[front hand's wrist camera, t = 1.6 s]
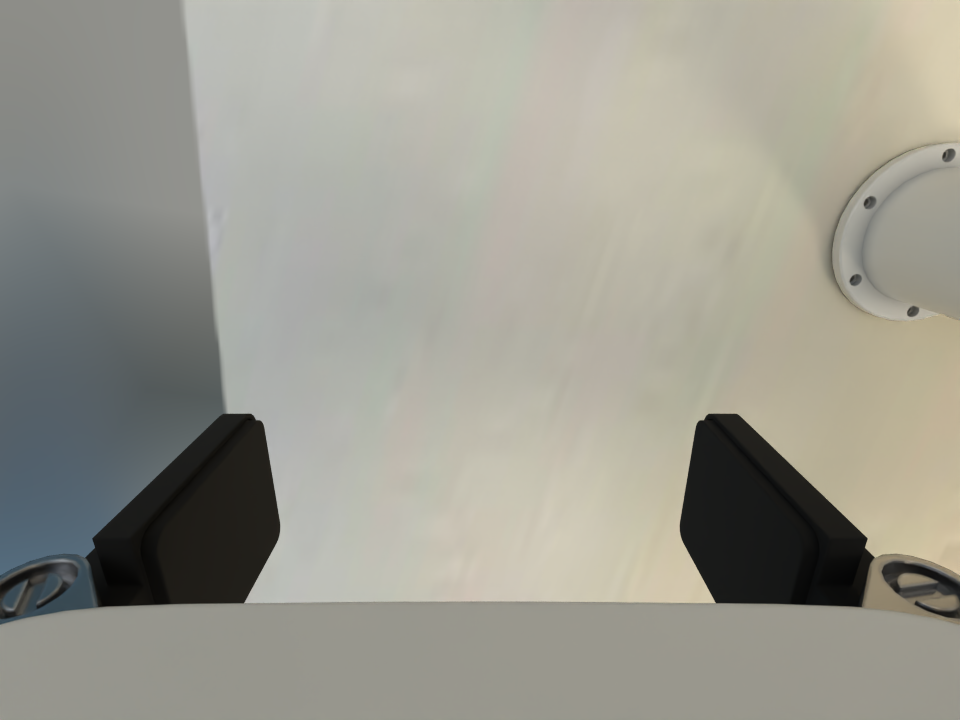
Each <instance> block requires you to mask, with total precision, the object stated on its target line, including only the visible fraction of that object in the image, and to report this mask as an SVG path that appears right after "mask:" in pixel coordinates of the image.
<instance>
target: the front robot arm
mask: <svg viewBox="0 0 960 720" xmlns="http://www.w3.org/2000/svg"><path fill="white" fill-rule="evenodd" d="M832 264H833V270H834V274H835V278H836V281H837V283H838V285H839V287H840V289H841V291H842V293H843V294H844V295H845V296H846V297H847V298H848V300H849V301H850V302H851V303H852V304H854V305H855V306H857V307H858V308H859V309H861V310H862V311H865V312H867V313H869V314H872V315H874V316H877V317H880V318H884V319H887V320H893V321H914V320H922V319H926V318H929V317H933V316H936V315H939V314H941V315H944V316H947V317H950V318H954V319H957V320H960V143H941V144H934V145H927V146H923V147H920V148H917V149H914V150H911V151H908V152H906V153H904V154H902V155H900V156H898V157H896V158H895V159H893V160H891V161H890V162H888V163H887V164H885V165H884V166H883V167H881V168H880V169H878V170H877V171H876V172H875V173H874V174H873V175H872V176H871V177H870V178H868V179H867V180H866V181H865V182H864V183H863V184H862V185H861V187H860V188H859V189H858V191H857V192H856V193H855V194H854V196H853V197H852V198H851V200H850V201H849V203H848V205H847V207H846V208H845V210H844V212H843V214H842V216H841V218H840V221H839V224H838V226H837V229H836V232H835V236H834V242H833V248H832ZM279 534H280V520H279V514H278V508H277V502H276V496H275V490H274V484H273V478H272V472H271V466H270V460H269V454H268V448H267V442H266V435H265V429H264V425H263V423H262V422H261V421H260V420H256V419H255V417H254V416H253V415H252V414H222V415H221V416H220V417H219V418H217V419H216V420H215V421H214V422H213V423H212V424H211V425H210V426H209V427H208V428H207V429H206V430H205V431H204V432H203V433H202V434H201V435H200V436H199V437H198V438H197V439H196V440H195V441H194V442H192V444H190V445H189V446H188V447H187V448H186V449H185V450H184V451H183V452H182V453H181V454H180V455H179V456H178V457H177V458H176V459H175V460H174V461H173V462H172V463H171V464H170V465H169V466H168V467H166V468H165V469H164V470H163V471H162V472H161V473H160V474H159V475H158V476H157V477H156V478H155V479H154V480H153V481H152V482H151V483H150V484H149V485H148V486H147V487H146V488H144V489H143V490H142V491H141V492H140V493H139V494H138V495H137V496H136V497H135V498H134V499H133V500H132V501H131V502H130V503H129V504H128V505H127V506H126V507H125V508H124V509H123V510H122V511H121V512H120V513H118V514H117V515H116V516H115V517H114V518H113V519H112V520H111V521H110V522H109V523H108V524H107V525H106V526H105V527H104V528H103V529H102V530H101V531H100V532H99V533H98V534H97V535H96V536H94V537H93V542H94V545H95V549H94V550H93V551H92V552H91V553H89V555H87V557H85V558H84V557H81V556H79V555H75V554H59V555H52V556H47V557H43V558H40V559H36V560H33V561H29V562H27V563H25V564H22V565H20V566H18V567H15V568H13V569H11V570H9V571H7V572H6V573H4V574H2V575H0V720H960V575H958V574H956V573H954V572H953V571H951V570H949V569H947V568H945V567H942V566H940V565H938V564H935V563H933V562H931V561H927V560H924V559H920V558H917V557H914V556H908V555H901V554H885V555H881V556H878V557H876V558H875V557H874V556H873V555H872V554H871V553H870V552H869V551H867V550H866V549H865V545H866V542H867V539H868V538H867V537H866V536H865V535H863V534H862V533H861V532H860V531H859V530H858V529H857V528H856V527H855V526H854V525H853V524H852V523H851V522H850V521H849V520H848V519H847V518H846V517H845V516H844V515H843V514H842V513H841V512H839V511H838V510H837V509H836V508H835V507H834V506H833V505H832V504H831V503H830V502H829V501H828V500H827V499H826V498H825V497H824V496H823V495H822V494H821V493H820V492H819V491H818V490H817V489H816V488H814V487H813V486H812V485H811V484H810V483H809V482H808V481H807V480H806V479H805V478H804V477H803V476H802V475H801V474H800V473H799V472H798V471H797V470H796V469H795V468H794V467H793V466H792V465H790V464H789V463H788V462H787V461H786V460H785V459H784V458H783V457H782V456H781V455H780V454H779V453H778V452H777V451H776V450H775V449H774V448H773V447H772V446H771V445H770V444H769V443H768V442H766V441H765V440H764V439H763V438H762V437H761V436H760V435H759V434H758V433H757V432H756V431H755V430H754V429H753V428H752V427H751V426H750V425H749V424H748V423H747V422H746V421H745V420H744V419H743V418H741V417H740V416H739V415H738V414H708V415H707V416H706V417H705V419H704V420H700V421H699V422H698V423H697V425H696V429H695V435H694V442H693V448H692V454H691V460H690V466H689V472H688V478H687V484H686V490H685V496H684V502H683V508H682V514H681V520H680V534H681V538H682V541H683V543H684V545H685V547H686V549H687V550H688V552H689V554H690V556H691V558H692V560H693V561H694V563H695V565H696V567H697V569H698V571H699V573H700V574H701V576H702V578H703V580H704V582H705V584H706V585H707V587H708V589H709V591H710V593H711V595H712V597H713V598H714V600H715V602H716V603H621V602H330V603H244V602H245V600H246V598H247V597H248V595H249V593H250V591H251V589H252V587H253V585H254V584H255V582H256V580H257V578H258V576H259V574H260V573H261V571H262V569H263V567H264V565H265V563H266V561H267V560H268V558H269V556H270V554H271V552H272V550H273V549H274V547H275V545H276V543H277V541H278V538H279Z"/></svg>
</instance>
